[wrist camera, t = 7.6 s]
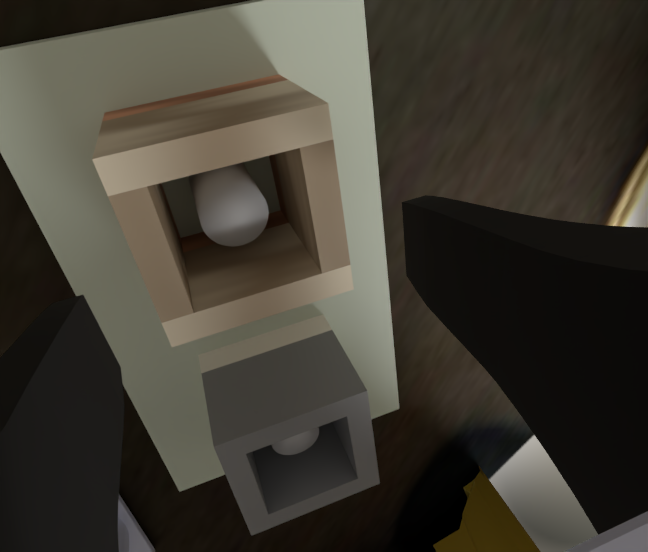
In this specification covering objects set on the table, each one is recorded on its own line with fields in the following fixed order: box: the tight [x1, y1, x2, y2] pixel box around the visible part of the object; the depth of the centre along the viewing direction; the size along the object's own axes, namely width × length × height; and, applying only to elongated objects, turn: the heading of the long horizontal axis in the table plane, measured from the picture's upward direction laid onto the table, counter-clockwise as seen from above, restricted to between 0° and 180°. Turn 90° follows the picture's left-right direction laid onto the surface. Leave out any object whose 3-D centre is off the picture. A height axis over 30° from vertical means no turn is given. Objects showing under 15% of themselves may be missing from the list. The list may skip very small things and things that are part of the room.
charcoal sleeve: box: [198, 314, 380, 536], centre depth 20 cm, size 6×6×5 cm
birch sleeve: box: [92, 74, 354, 347], centre depth 15 cm, size 6×6×5 cm
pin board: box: [0, 0, 399, 492], centre depth 19 cm, size 12×20×5 cm, turn 8°
